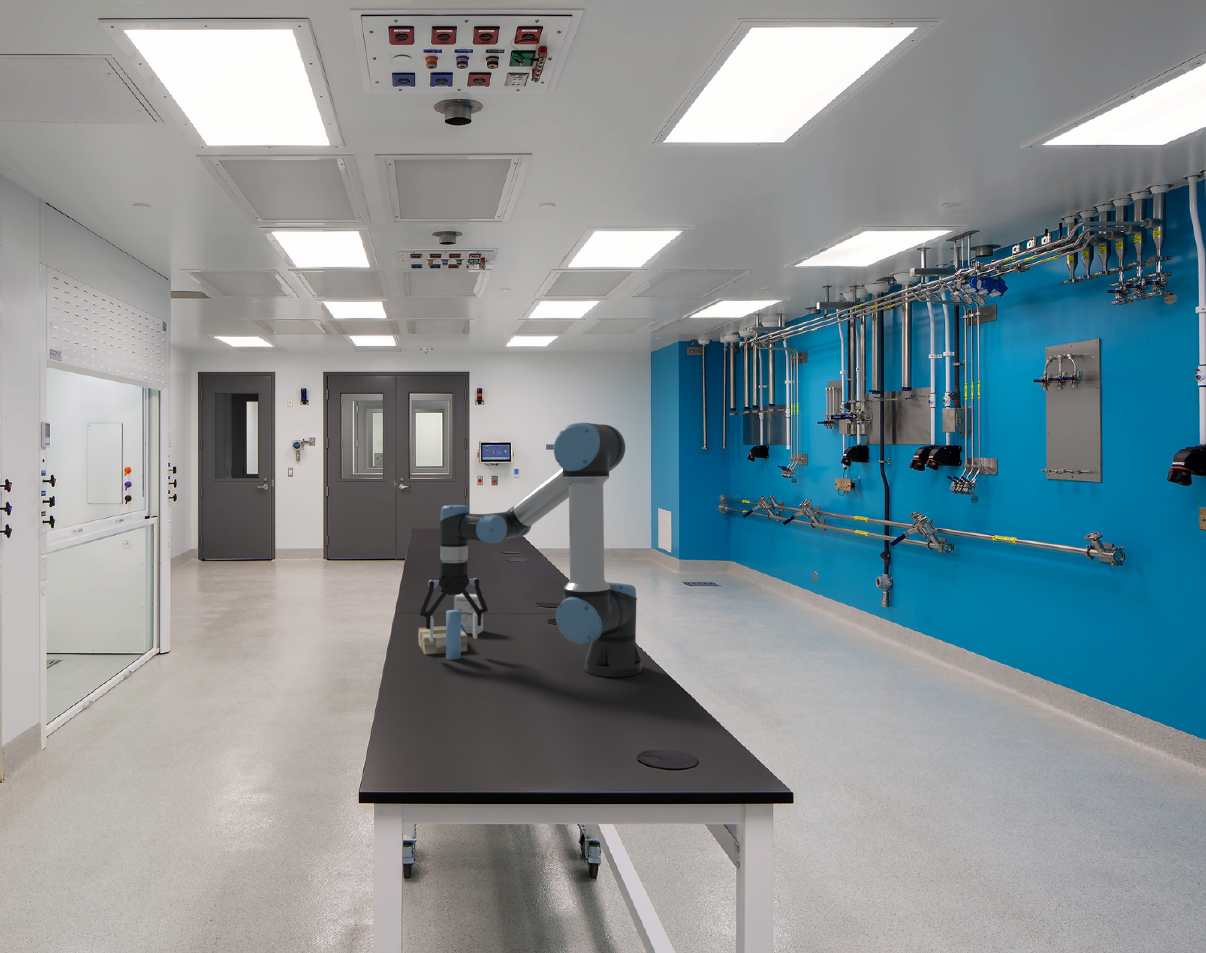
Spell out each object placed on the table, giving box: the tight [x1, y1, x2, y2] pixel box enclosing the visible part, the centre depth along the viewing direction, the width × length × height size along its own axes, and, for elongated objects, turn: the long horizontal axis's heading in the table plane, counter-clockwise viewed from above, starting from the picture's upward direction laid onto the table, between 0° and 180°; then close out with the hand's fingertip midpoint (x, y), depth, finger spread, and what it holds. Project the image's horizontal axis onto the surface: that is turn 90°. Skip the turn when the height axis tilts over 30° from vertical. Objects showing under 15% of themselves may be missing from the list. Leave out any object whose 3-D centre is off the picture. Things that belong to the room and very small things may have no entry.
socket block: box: [417, 625, 468, 655], centre depth 227 cm, size 14×12×4 cm
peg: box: [445, 609, 462, 661], centre depth 215 cm, size 4×4×13 cm
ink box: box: [453, 593, 484, 635], centre depth 247 cm, size 9×5×12 cm, turn 84°
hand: (453, 639), depth 215 cm, fingers open, 11 cm apart
